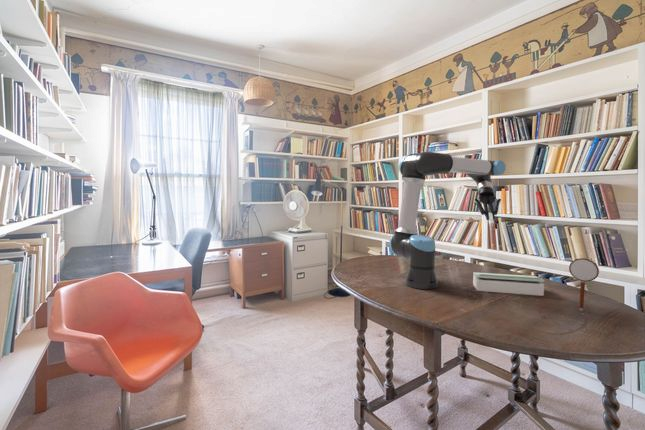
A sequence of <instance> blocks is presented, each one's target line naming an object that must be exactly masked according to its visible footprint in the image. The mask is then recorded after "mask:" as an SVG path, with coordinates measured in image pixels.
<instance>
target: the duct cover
mask: <svg viewBox="0 0 645 430" xmlns="http://www.w3.org/2000/svg"><path fill="white" fill-rule="evenodd" d="M472 273H473V274H474V275H475V276H476V277H478V278H492V279H507V280H522V281H537V282H542V283H545V279H543V278H541V277H538V276H536V275H525V274H524V275H523V274H521V275H520V274H509V273H504V274H503V273H489V272H475V271H474V272H472Z"/></svg>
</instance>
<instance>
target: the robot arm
mask: <svg viewBox="0 0 645 430" xmlns="http://www.w3.org/2000/svg"><path fill="white" fill-rule="evenodd" d="M398 171H399V173H400V175H401V180H402V181H403V182H404V183H403V190H402V200H401V205H400V213H399V220H398V227H397V228H396V229H395V230H394V234H392V236H391V237H390V238H389V241H388V247H389V249H390V251H391V253H392V254H394V255H395V256H397V257H398V258H403V259H406V260H409V263H408V264H409V265H408V266H409V267H408V270H407V272H406V273H407V274H406V276H405V280H404V282H405V285H406V286H407V287H410V288H412V289H420V290H432V289H437V288H438V287H439V280H438V277H437V273H436V270H435V267H436V241H435V239H434V238H433V237H431V236H427V235H422V234H419V233H418V232H417V230H416V227H417V222H418V221H417V219H418V212H419V204H420V196H421V192H422V191H421V189H422V184H423V183H424V182H426V177H427V176H434V175H446V174H449V173H455V174H466V175H467V176H468V177H469V178H471V179H472V180H473V181H474V182H475V183H476V187H477V194H478V198H474V202H473V203H474V204H475V205H476V206H477V208H478V210H479V212H480V214H481V215H483V216H485V219H486V220H487V221H488V224H489V226H490V227H493V226H494V223H495V218H496V216H497V215H498V213H499V207H500V204H501V200H502V199H501V198H496V195H495V191H494V187H493V183H492V178H491V177H492V176H499V175H503V174H505V172H506V162H505V161H504V160H488V159H478V158H467V157H459V156H458V157H457V156H452V155H451V154H449V153H441V152H435V151H421V152H418V153H411V154H407V155H405V156H404V157H403V158H402V159H401V160H400V162H399V165H398ZM494 202H495V207H494V205H493V204H494ZM482 204H483V205H482Z"/></svg>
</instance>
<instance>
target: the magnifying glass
mask: <svg viewBox="0 0 645 430" xmlns="http://www.w3.org/2000/svg"><path fill="white" fill-rule="evenodd" d="M568 269H569V270H568V271H569V273H570V274H571V276H572V277H573V278H574V279H576V280H578V281H580V287H579V289H580V290H579V306H578V307H579V311H583V309H584V306H585V305H584V303H585V290H586V289H585V286H586V283H585V282H591V281H594V280H596V279H597V278H598V277H599V273H600V269H599V266H598V265H597V264H596V262H594V261H593V260H590V259H588V258H584V257H581V258H575V259H573V261H571V262H570V264H569V268H568Z"/></svg>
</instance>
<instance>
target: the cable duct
mask: <svg viewBox="0 0 645 430" xmlns="http://www.w3.org/2000/svg"><path fill="white" fill-rule="evenodd" d="M472 285H473V286H474V288H475V290H476V291H477V292H487V293H488V292H489V293H490V292H491V293H502V294H505V293H506V294H515V295H516V294H517V295H526V296H527V295H528V296H540V297H541V296H544V295H545V283H544V282H537V281H522V280H507V279H492V278H478V277H476V276H475V275H474V274H473V277H472Z"/></svg>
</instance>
